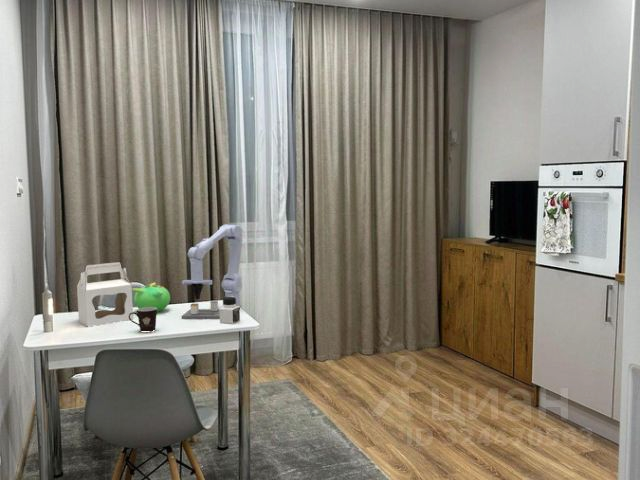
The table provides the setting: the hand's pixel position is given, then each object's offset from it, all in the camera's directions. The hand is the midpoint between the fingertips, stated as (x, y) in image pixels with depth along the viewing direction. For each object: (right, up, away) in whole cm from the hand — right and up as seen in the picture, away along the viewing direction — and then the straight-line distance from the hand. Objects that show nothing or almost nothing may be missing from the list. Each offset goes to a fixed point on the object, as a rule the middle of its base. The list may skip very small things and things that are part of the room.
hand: (197, 299), depth 286 cm
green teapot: (-26, -8, +14) cm, 31 cm away
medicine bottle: (+17, -10, -9) cm, 22 cm away
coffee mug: (-19, -12, -24) cm, 33 cm away
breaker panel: (+3, -9, +4) cm, 10 cm away
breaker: (+7, -7, +7) cm, 12 cm away
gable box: (-44, -10, -4) cm, 45 cm away
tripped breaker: (-2, -7, +1) cm, 8 cm away
